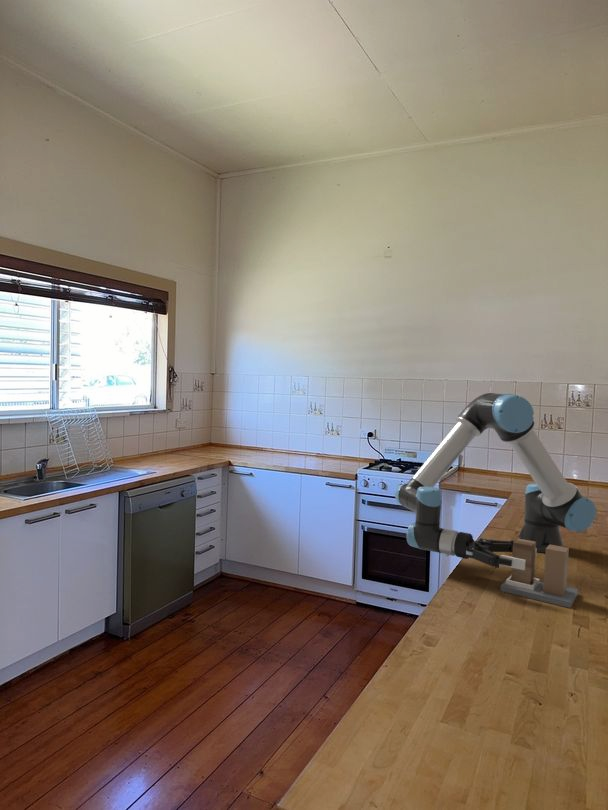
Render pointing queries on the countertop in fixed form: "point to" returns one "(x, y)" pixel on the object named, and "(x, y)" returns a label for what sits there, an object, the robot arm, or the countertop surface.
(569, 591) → the baseplate
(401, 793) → the countertop surface
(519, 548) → the pillar
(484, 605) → the countertop surface
